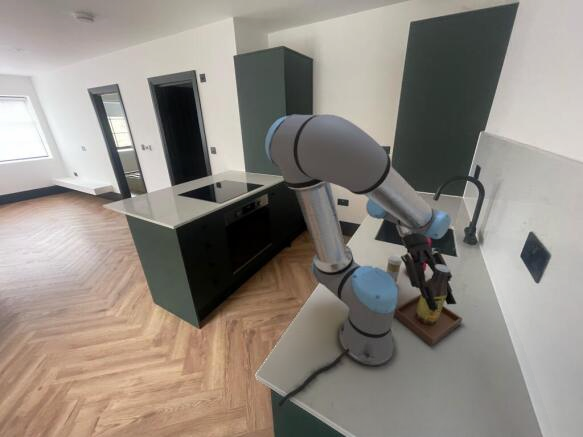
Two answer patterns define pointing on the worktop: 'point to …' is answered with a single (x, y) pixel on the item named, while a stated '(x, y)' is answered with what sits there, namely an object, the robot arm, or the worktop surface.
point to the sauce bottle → (434, 295)
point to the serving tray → (423, 330)
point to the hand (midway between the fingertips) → (442, 306)
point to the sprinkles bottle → (394, 266)
